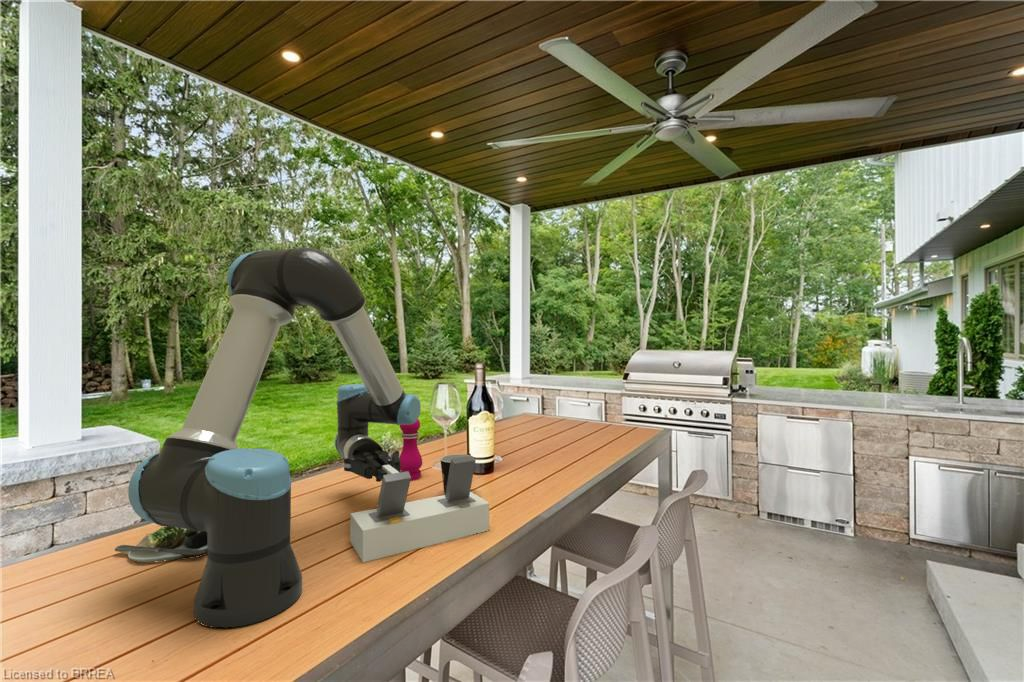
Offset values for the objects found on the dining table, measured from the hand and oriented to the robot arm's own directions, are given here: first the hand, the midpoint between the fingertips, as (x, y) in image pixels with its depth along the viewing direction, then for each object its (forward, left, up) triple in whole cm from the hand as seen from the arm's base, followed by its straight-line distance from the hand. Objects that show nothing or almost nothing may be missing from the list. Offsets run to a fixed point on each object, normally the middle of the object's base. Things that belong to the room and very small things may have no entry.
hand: (395, 479), depth 93 cm
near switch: (-1, +2, -8) cm, 8 cm away
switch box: (+6, +2, -14) cm, 15 cm away
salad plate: (-36, +24, -14) cm, 46 cm away
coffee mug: (+24, +22, -14) cm, 36 cm away
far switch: (+14, +2, -8) cm, 17 cm away
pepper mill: (+18, +43, -14) cm, 49 cm away
